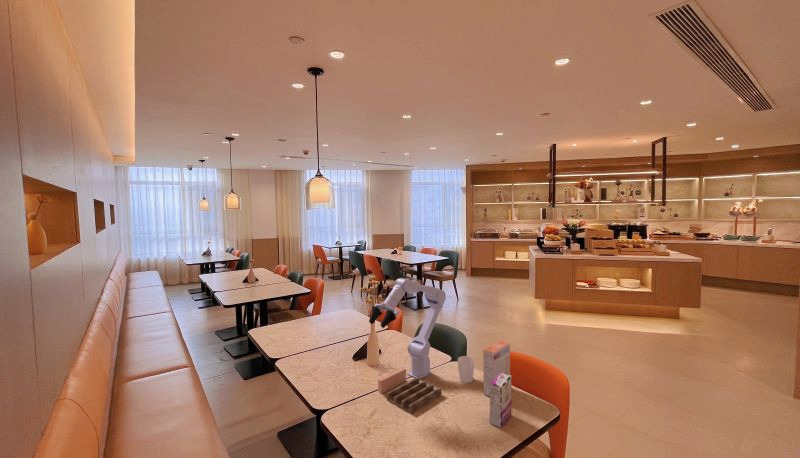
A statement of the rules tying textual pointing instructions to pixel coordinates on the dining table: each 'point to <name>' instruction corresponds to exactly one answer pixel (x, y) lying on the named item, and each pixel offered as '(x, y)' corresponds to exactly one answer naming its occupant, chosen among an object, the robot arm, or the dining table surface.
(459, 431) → the dining table surface
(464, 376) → the white cup
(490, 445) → the dining table surface
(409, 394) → the slatted brown panel
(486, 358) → the cracker box
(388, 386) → the clay strip
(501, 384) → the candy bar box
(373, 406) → the dining table surface
